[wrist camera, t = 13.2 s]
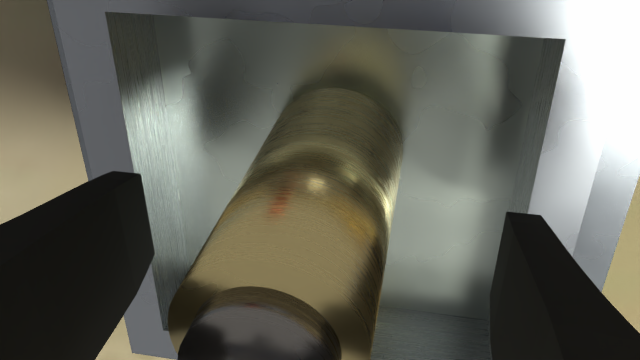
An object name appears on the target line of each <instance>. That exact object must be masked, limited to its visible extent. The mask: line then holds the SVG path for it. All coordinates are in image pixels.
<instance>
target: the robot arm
mask: <svg viewBox="0 0 640 360" xmlns="http://www.w3.org/2000/svg"><path fill="white" fill-rule="evenodd" d="M154 255H155V251H154V246H153V240H152V234H151V229H150V223H149V217H148V212H147V206H146V200H145V195H144V189H143V183H142V178H141V174H139V173H129V172H120V171H111V172H109V173H106V174H104V175H101V176H99V177H97V178H94V179H92V180H90V181H88V182H86V183H84V184H82V185H80V186H78V187H76V188H74V189H72V190H70V191H68V192H66V193H64V194H62V195H60V196H58V197H56V198H54V199H52V200H50V201H48V202H46V203H44V204H42V205H40V206H38V207H36V208H34V209H32V210H30V211H28V212H26V213H24V214H22V215H20V216H18V217H16V218H14V219H12V220H9V221H7V222H5V223H3V224H1V225H0V360H95V359H96V357H97V356H98V354H99V352H100V351H101V349H102V348H103V346H104V345H105V343H106V342H107V340H108V339H109V337H110V336H111V334H112V332H113V331H114V329H115V328H116V326H117V325H118V323H119V322H120V320H121V318H122V317H123V315H124V314H125V312H126V311H127V309H128V307H129V306H130V304H131V303H132V301H133V299H134V298H135V296H136V294H137V292H138V290H139V288H140V286H141V284H142V282H143V280H144V278H145V275H146V273H147V271H148V269H149V266H150V264H151V262H152V259H153V257H154ZM490 344H491V352H492V360H640V333H639V332H638V331H637V330H636V329H635V328H634V327H633V326H632V325H631V324H630V323H629V322H628V321H627V320H626V319H625V318H624V317H623V316H622V315H621V314H620V313H619V311H618V310H617V309H616V308H615V307H614V306H613V305H612V304H611V303H610V302H609V301H608V300H607V298H606V297H605V296H604V295H603V294H602V293H601V291H600V290H599V289H598V288H597V287H596V285H595V284H594V283H593V282H592V281H591V279H590V278H589V277H588V276H587V275H586V273H585V272H584V271H583V270H582V268H581V267H580V266H579V265H578V263H577V262H576V261H575V259H574V258H573V257H572V256H571V254H570V253H569V252H568V250H567V249H566V248H565V246H564V245H563V244H562V242H561V241H560V240H559V238H558V237H557V236H556V234H555V233H554V232H553V230H552V229H551V227H550V226H549V225H548V224H547V222H546V221H545V220H544V218H543V217H542V216H541V215H535V214H526V213H516V212H506V216H505V221H504V226H503V231H502V236H501V241H500V246H499V251H498V256H497V261H496V266H495V271H494V276H493V281H492V286H491V291H490Z"/></svg>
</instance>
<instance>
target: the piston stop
mask: <svg viewBox="0 0 640 360" xmlns="http://www.w3.org/2000/svg"><path fill="white" fill-rule="evenodd" d="M402 159H403V145H402V139H401V136H400V133H399V130H398V128H397V126H396V124H395V122H394V121H393V119H392V118H391V116H390V115H389V114H388V113H387V112H386V111H385V110H384V109H383V108H382V107H381V106H380V105H379V104H377V103H376V102H375V101H373V100H372V99H370V98H368V97H366V96H364V95H362V94H360V93H357V92H354V91H350V90H346V89H339V88H325V89H318V90H314V91H311V92H308V93H306V94H303V95H301V96H300V97H298V98H296V99H295V100H294V101H292V102H291V103H290V104H289V105H288V106H287V107H286V108H285V109H284V110H283V112H282V113H281V114H280V116H279V118H278V119H277V121H276V123H275V124H274V126H273V128H272V130H271V131H270V133H269V135H268V136H267V138H266V140H265V141H264V143H263V145H262V147H261V148H260V150H259V152H258V153H257V155H256V157H255V159H254V160H253V162H252V164H251V165H250V167H249V169H248V170H247V172H246V174H245V176H244V177H243V179H242V181H241V182H240V184H239V186H238V187H237V189H236V191H235V193H234V194H233V196H232V198H231V199H230V201H229V203H228V204H227V206H226V208H225V210H224V211H223V213H222V215H221V216H220V218H219V220H218V222H217V223H216V225H215V227H214V228H213V230H212V232H211V233H210V235H209V237H208V239H207V240H206V242H205V244H204V245H203V247H202V249H201V250H200V252H199V254H198V256H197V257H196V259H195V261H194V262H193V264H192V266H191V267H190V269H189V271H188V273H187V274H186V276H185V278H184V279H183V281H182V283H181V284H180V286H179V288H178V290H177V291H176V293H175V295H174V297H173V299H172V301H171V303H170V307H169V311H168V321H167V322H168V331H169V335H170V339H171V342H172V344H173V346H174V349H175V351H176V353H177V354H178V360H370V358H371V352H372V346H373V340H374V334H375V327H376V321H377V315H378V309H379V302H380V296H381V290H382V284H383V277H384V271H385V265H386V259H387V253H388V246H389V240H390V234H391V228H392V221H393V215H394V209H395V203H396V196H397V190H398V184H399V178H400V171H401V165H402Z"/></svg>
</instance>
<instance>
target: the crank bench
mask: <svg viewBox="0 0 640 360" xmlns="http://www.w3.org/2000/svg"><path fill="white" fill-rule="evenodd" d="M47 3H48V7H49V12H50V16H51V20H52V25H53V29H54V33H55V38H56V42H57V46H58V51H59V55H60V59H61V64H62V68H63V72H64V77H65V81H66V85H67V90H68V94H69V98H70V103H71V107H72V111H73V116H74V120H75V124H76V129H77V133H78V137H79V142H80V146H81V150H82V155H83V159H84V163H85V168H86V172H87V176H88V181H90V180H92V179H94V178H97V177H99V176H101V175H104V174H106V173H109V172H111V171H120V172H129V173H139V174H141V178H142V183H143V189H144V195H145V200H146V206H147V212H148V217H149V223H150V229H151V234H152V240H153V246H154V251H155V255H154V257H153V259H152V262H151V264H150V266H149V269H148V271H147V273H146V275H145V278H144V280H143V282H142V284H141V286H140V288H139V290H138V292H137V294H136V296H135V298H134V299H133V301H132V303H131V304H130V306H129V307H128V309H127V311H126V312H125V314H124V319H125V323H126V328H127V332H128V336H129V341H130V345H131V350H132V353H136V354H143V355H150V356H156V357H163V358H169V359H176V360H178V354H177V353H176V351H175V349H174V346H173V344H172V342H171V339H170V335H169V331H168V322H167V321H168V311H169V307H170V303H171V301H172V299H173V297H174V295H175V293H176V291H177V290H178V288H179V286H180V284H181V283H182V281H183V279H184V278H185V276H186V274H187V273H188V271H189V269H190V267H191V266H192V264H193V262H194V261H195V259H196V257H197V256H198V254H199V252H200V250H201V249H202V247H203V245H204V244H205V242H206V240H207V239H208V237H209V235H210V233H211V232H212V230H213V228H214V227H215V225H216V223H217V222H218V220H219V218H220V216H221V215H222V213H223V211H224V210H225V208H226V206H227V204H228V203H229V201H230V199H231V198H232V196H233V194H234V193H235V191H236V189H237V187H238V186H239V184H240V182H241V181H242V179H243V177H244V176H245V174H246V172H247V170H248V169H249V167H250V165H251V164H252V162H253V160H254V159H255V157H256V155H257V153H258V152H259V150H260V148H261V147H262V145H263V143H264V141H265V140H266V138H267V136H268V135H269V133H270V131H271V130H272V128H273V126H274V124H275V123H276V121H277V119H278V118H279V116H280V114H281V113H282V112H283V110H284V109H285V108H286V107H287V106H288V105H289V104H290V103H291V102H292V101H294V100H295V99H296V98H298V97H300V96H301V95H303V94H306V93H308V92H311V91H314V90H318V89H325V88H339V89H346V90H350V91H354V92H357V93H360V94H362V95H364V96H366V97H368V98H370V99H372V100H373V101H375V102H376V103H377V104H379V105H380V106H381V107H382V108H383V109H384V110H385V111H386V112H387V113H388V114H389V115H390V116H391V118H392V119H393V121H394V122H395V124H396V126H397V128H398V130H399V133H400V136H401V139H402V145H403V159H402V165H401V171H400V178H399V184H398V190H397V196H396V203H395V209H394V215H393V221H392V228H391V234H390V240H389V246H388V253H387V259H386V265H385V271H384V277H383V284H382V290H381V296H380V302H379V309H378V315H377V321H376V327H375V334H374V340H373V346H372V352H371V358H370V360H492V352H491V344H490V291H491V286H492V281H493V276H494V271H495V266H496V261H497V256H498V251H499V246H500V241H501V236H502V231H503V226H504V221H505V216H506V212H516V213H526V214H535V215H541V216H542V217H543V218H544V220H545V221H546V222H547V224H548V225H549V226H550V227H551V229H552V230H553V232H554V233H555V234H556V236H557V237H558V238H559V240H560V241H561V242H562V244H563V245H564V246H565V248H566V249H567V250H568V252H569V253H570V254H571V256H572V257H573V258H574V259H575V261H576V262H577V263H578V265H579V266H580V267H581V268H582V270H583V271H584V272H585V273H586V275H587V276H588V277H589V278H590V279H591V281H592V282H593V283H594V284H595V285H596V287H597V288H598V289H599V290H600V291H601V292H602V289H603V286H604V283H605V280H606V276H607V273H608V270H609V267H610V264H611V261H612V258H613V255H614V252H615V249H616V246H617V243H618V240H619V237H620V233H621V230H622V227H623V224H624V221H625V218H626V215H627V212H628V209H629V206H630V203H631V200H632V197H633V194H634V190H635V187H636V184H637V181H638V178H639V175H640V0H47Z"/></svg>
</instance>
